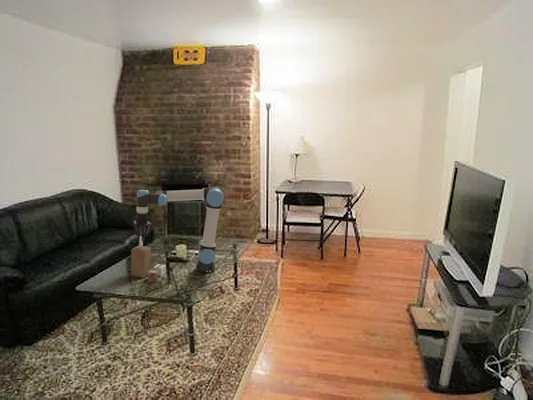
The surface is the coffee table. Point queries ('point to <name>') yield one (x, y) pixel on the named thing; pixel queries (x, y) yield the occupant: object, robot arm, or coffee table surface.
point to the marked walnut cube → (152, 275)
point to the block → (140, 261)
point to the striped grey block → (160, 269)
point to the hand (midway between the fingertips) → (140, 245)
